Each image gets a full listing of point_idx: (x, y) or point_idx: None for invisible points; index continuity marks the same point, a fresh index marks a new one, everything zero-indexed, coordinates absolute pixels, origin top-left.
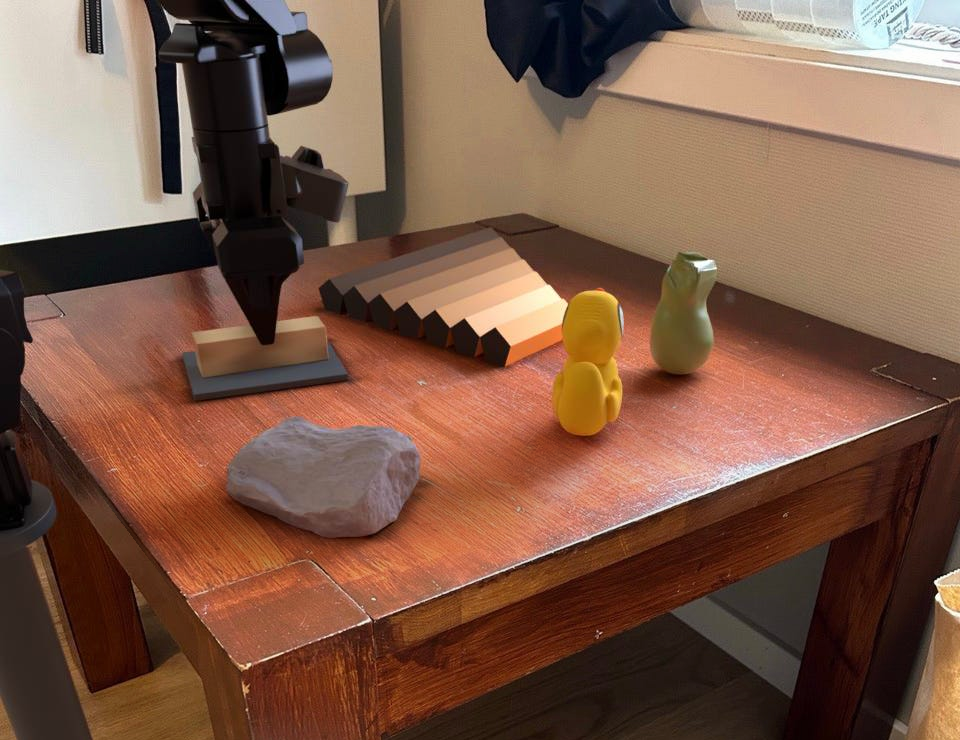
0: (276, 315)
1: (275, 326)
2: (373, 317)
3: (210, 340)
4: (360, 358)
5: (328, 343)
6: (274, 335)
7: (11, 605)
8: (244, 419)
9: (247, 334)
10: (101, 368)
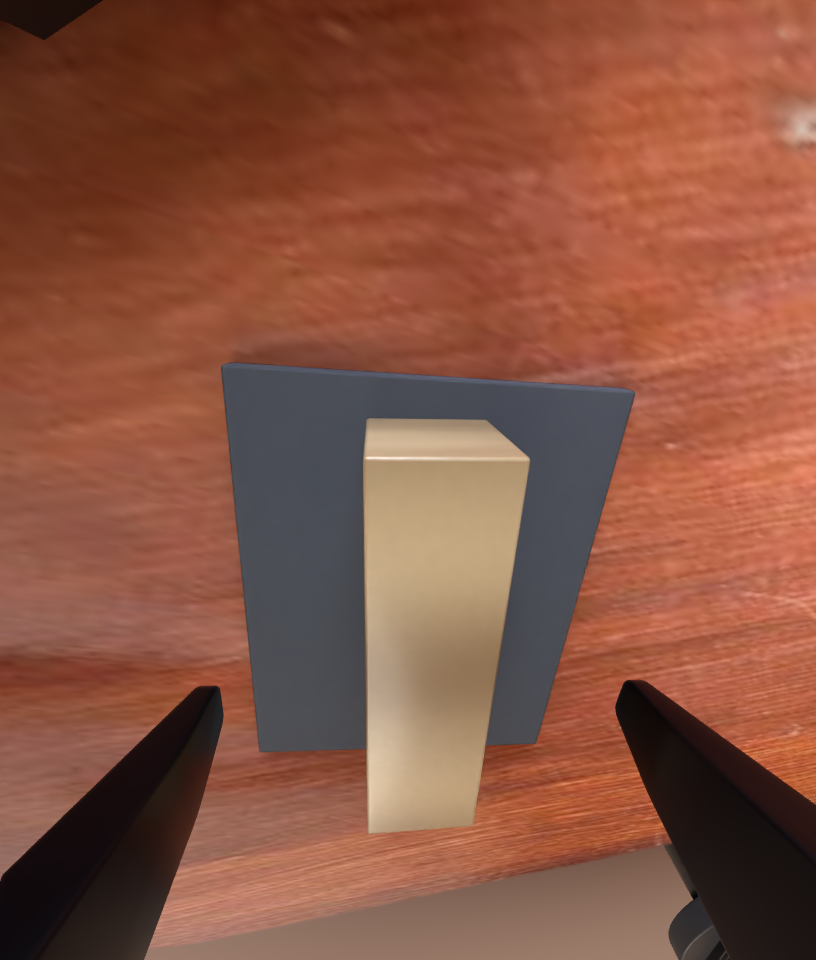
0: (786, 788)
1: (721, 738)
2: (9, 9)
3: (466, 802)
4: (458, 281)
5: (328, 376)
6: (678, 705)
7: None
8: (674, 660)
9: (468, 721)
10: (268, 848)
